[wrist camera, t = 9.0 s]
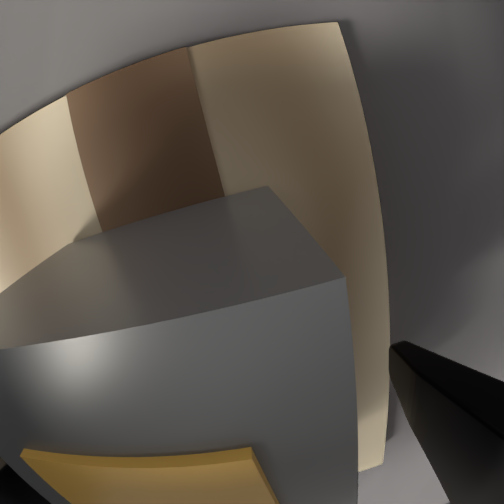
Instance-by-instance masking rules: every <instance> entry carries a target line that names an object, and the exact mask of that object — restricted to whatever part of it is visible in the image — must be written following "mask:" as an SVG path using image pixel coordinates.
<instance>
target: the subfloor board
mask: <svg viewBox="0 0 504 504" xmlns="http://www.w3.org/2000/svg"><path fill="white" fill-rule="evenodd" d="M264 186H269V187H270V188H271V190H272V191H273V192H274V193H275V194H276V195H277V196H278V197H279V199H280V200H281V201H282V202H283V203H284V204H285V205H286V207H287V208H288V209H289V210H290V211H291V212H292V214H293V215H294V216H295V217H296V218H297V219H298V221H299V222H300V223H301V224H302V225H303V226H304V228H305V229H306V230H307V231H308V232H309V233H310V235H311V236H312V237H313V238H314V239H315V241H316V242H317V243H318V244H319V245H320V247H321V248H322V249H323V250H324V251H325V253H326V254H327V255H328V256H329V257H330V259H331V260H332V261H333V262H334V264H335V265H336V266H337V267H338V269H339V270H340V271H341V272H342V273H343V275H344V276H345V278H346V286H347V293H348V302H349V311H350V320H351V330H352V340H353V351H354V364H355V378H356V396H357V419H358V472H360V471H363V470H366V469H369V468H372V467H375V466H378V465H381V464H383V458H384V449H385V440H386V429H387V417H388V402H389V380H390V375H389V369H388V368H389V347H390V312H389V290H388V274H387V261H386V249H385V239H384V230H383V221H382V213H381V206H380V199H379V192H378V185H377V179H376V173H375V167H374V161H373V156H372V151H371V146H370V141H369V136H368V131H367V126H366V122H365V117H364V113H363V109H362V104H361V100H360V96H359V92H358V88H357V85H356V81H355V77H354V73H353V70H352V66H351V63H350V59H349V56H348V53H347V50H346V46H345V43H344V40H343V37H342V34H341V31H340V28H339V25H338V22H331V23H318V24H307V25H298V26H290V27H282V28H275V29H269V30H263V31H257V32H251V33H246V34H241V35H236V36H232V37H227V38H223V39H218V40H214V41H210V42H206V43H202V44H199V45H195V46H191V47H188V48H186V47H183V48H179V49H176V50H173V51H170V52H166V53H163V54H160V55H157V56H154V57H152V58H149V59H146V60H143V61H140V62H138V63H135V64H132V65H130V66H127V67H125V68H122V69H120V70H117V71H115V72H112V73H110V74H108V75H105V76H103V77H101V78H98V79H96V80H94V81H92V82H90V83H87V84H85V85H83V86H81V87H79V88H77V89H75V90H73V91H71V92H69V93H67V94H66V96H64V97H62V98H60V99H58V100H56V101H55V102H53V103H51V104H49V105H47V106H46V107H44V108H42V109H40V110H38V111H37V112H35V113H33V114H32V115H30V116H28V117H27V118H25V119H23V120H22V121H20V122H19V123H17V124H15V125H14V126H12V127H11V128H9V129H8V130H6V131H5V132H3V133H2V134H0V293H1V292H2V291H4V290H5V289H6V288H8V287H9V286H10V285H11V284H13V283H14V282H15V281H17V280H18V279H19V278H21V277H22V276H23V275H25V274H26V273H28V272H29V271H30V270H32V269H33V268H34V267H36V266H37V265H39V264H40V263H41V262H43V261H44V260H46V259H47V258H48V257H50V256H51V255H53V254H54V253H56V252H57V251H59V250H60V249H62V248H63V247H64V246H66V245H67V244H69V243H72V242H75V241H78V240H81V239H84V238H87V237H90V236H93V235H96V234H99V233H102V232H105V231H108V230H111V229H114V228H117V227H121V226H124V225H127V224H130V223H133V222H137V221H140V220H143V219H146V218H150V217H153V216H156V215H160V214H163V213H167V212H170V211H174V210H177V209H181V208H184V207H188V206H191V205H195V204H198V203H202V202H206V201H209V200H213V199H217V198H221V197H224V196H228V195H232V194H236V193H240V192H244V191H248V190H252V189H256V188H260V187H264Z"/></svg>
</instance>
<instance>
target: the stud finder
mask: <svg viewBox="0 0 504 504" xmlns="http://www.w3.org/2000/svg"><path fill="white" fill-rule="evenodd" d="M0 457H1V458H2V459H3V460H4V461H5V462H6V463H7V464H8V465H9V466H10V467H11V468H12V469H13V470H14V471H15V472H16V473H17V474H18V475H19V476H20V477H21V478H22V479H24V480H25V481H26V482H27V483H28V484H29V485H30V486H31V487H32V488H33V489H35V490H36V491H37V492H38V493H39V494H40V495H42V496H43V497H44V498H45V499H46V500H48V501H49V502H50V503H51V504H357V502H358V419H357V396H356V378H355V364H354V351H353V340H352V330H351V320H350V311H349V302H348V293H347V286H346V278H345V276H344V275H343V273H342V272H341V271H340V270H339V269H338V267H337V266H336V265H335V264H334V262H333V261H332V260H331V259H330V257H329V256H328V255H327V254H326V253H325V251H324V250H323V249H322V248H321V247H320V245H319V244H318V243H317V242H316V241H315V239H314V238H313V237H312V236H311V235H310V233H309V232H308V231H307V230H306V229H305V228H304V226H303V225H302V224H301V223H300V222H299V221H298V219H297V218H296V217H295V216H294V215H293V214H292V212H291V211H290V210H289V209H288V208H287V207H286V205H285V204H284V203H283V202H282V201H281V200H280V199H279V197H278V196H277V195H276V194H275V193H274V192H273V191H272V190H271V188H270V187H269V186H264V187H260V188H256V189H252V190H248V191H244V192H240V193H236V194H232V195H228V196H224V197H221V198H217V199H213V200H209V201H206V202H202V203H198V204H195V205H191V206H188V207H184V208H181V209H177V210H174V211H170V212H167V213H163V214H160V215H156V216H153V217H150V218H146V219H143V220H140V221H137V222H133V223H130V224H127V225H124V226H121V227H117V228H114V229H111V230H108V231H105V232H102V233H99V234H96V235H93V236H90V237H87V238H84V239H81V240H78V241H75V242H72V243H69V244H67V245H66V246H64V247H63V248H62V249H60V250H59V251H57V252H56V253H54V254H53V255H51V256H50V257H48V258H47V259H46V260H44V261H43V262H41V263H40V264H39V265H37V266H36V267H34V268H33V269H32V270H30V271H29V272H28V273H26V274H25V275H23V276H22V277H21V278H19V279H18V280H17V281H15V282H14V283H13V284H11V285H10V286H9V287H8V288H6V289H5V290H4V291H2V292H1V293H0Z"/></svg>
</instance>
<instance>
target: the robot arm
mask: <svg viewBox="0 0 504 504" xmlns="http://www.w3.org/2000/svg"><path fill="white" fill-rule="evenodd" d="M388 369H389V375H390V378H391V381H392V383H393V385H394V388H395V390H396V393H397V395H398V398H399V400H400V402H401V405H402V407H403V410H404V412H405V415H406V417H407V420H408V422H409V424H410V426H411V428H412V430H413V432H414V434H415V436H416V438H417V440H418V441H419V443H420V445H421V447H422V449H423V451H424V452H425V454H426V456H427V458H428V460H429V462H430V464H431V466H432V468H433V470H434V471H435V473H436V475H437V477H438V479H439V481H440V483H441V485H442V487H443V489H444V491H445V493H446V495H447V497H448V499H449V501H450V503H451V504H504V382H503V381H501V380H498V379H496V378H493V377H491V376H488V375H486V374H484V373H481V372H479V371H476V370H474V369H472V368H469V367H467V366H464V365H462V364H460V363H457V362H455V361H452V360H450V359H448V358H445V357H443V356H441V355H438V354H436V353H434V352H431V351H429V350H427V349H424V348H422V347H420V346H417V345H415V344H413V343H410V342H408V341H400V342H397V343H394V344H392V345H391V346H390V347H389V368H388ZM0 504H51V503H50V502H49V501H48V500H46V499H45V498H44V497H43V496H42V495H40V494H39V493H38V492H37V491H36V490H35V489H33V488H32V487H31V486H30V485H29V484H28V483H27V482H26V481H25V480H24V479H22V478H21V477H20V476H19V475H18V474H17V473H16V472H15V471H14V470H13V469H12V468H11V467H10V466H9V465H8V464H7V463H6V462H5V461H4V460H3V459H2V458H1V457H0Z"/></svg>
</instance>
